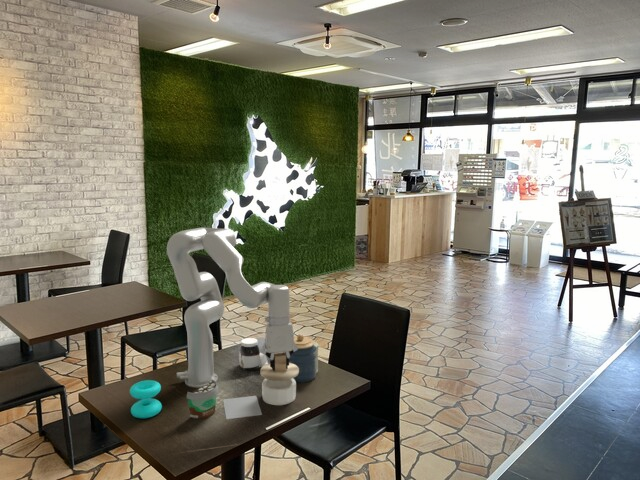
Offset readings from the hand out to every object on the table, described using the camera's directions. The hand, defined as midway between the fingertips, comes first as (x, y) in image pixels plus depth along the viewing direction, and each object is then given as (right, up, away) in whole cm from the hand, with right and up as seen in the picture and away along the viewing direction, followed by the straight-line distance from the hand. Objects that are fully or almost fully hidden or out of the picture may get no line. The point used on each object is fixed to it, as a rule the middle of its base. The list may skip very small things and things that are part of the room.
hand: (279, 367), depth 174 cm
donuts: (-45, -13, -9) cm, 48 cm away
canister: (+7, -9, +20) cm, 23 cm away
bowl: (0, -12, +2) cm, 12 cm away
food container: (-24, -14, -11) cm, 29 cm away
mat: (-13, -13, -6) cm, 19 cm away
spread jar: (-13, -8, +28) cm, 32 cm away
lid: (0, -2, 0) cm, 2 cm away
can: (+9, -8, +25) cm, 28 cm away
